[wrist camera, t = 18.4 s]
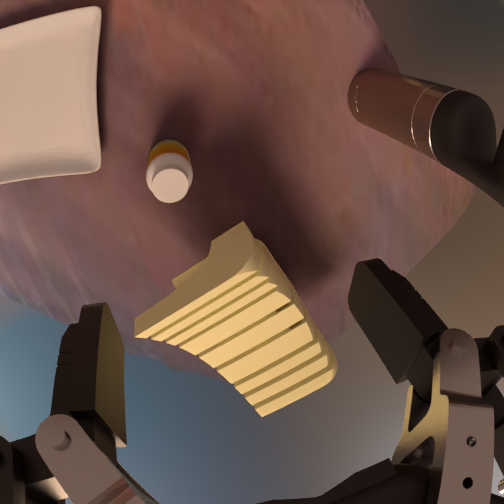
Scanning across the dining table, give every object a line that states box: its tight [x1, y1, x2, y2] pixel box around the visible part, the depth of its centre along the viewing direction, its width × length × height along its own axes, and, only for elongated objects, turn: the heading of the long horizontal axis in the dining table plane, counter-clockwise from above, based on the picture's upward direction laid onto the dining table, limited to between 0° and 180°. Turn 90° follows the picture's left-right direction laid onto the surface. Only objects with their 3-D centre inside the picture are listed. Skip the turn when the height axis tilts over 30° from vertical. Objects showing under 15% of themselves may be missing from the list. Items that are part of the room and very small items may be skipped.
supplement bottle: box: [146, 140, 193, 203], centre depth 36 cm, size 5×5×10 cm
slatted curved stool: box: [135, 221, 337, 417], centre depth 47 cm, size 30×16×18 cm, turn 29°
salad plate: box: [0, 6, 102, 184], centre depth 28 cm, size 21×21×3 cm
